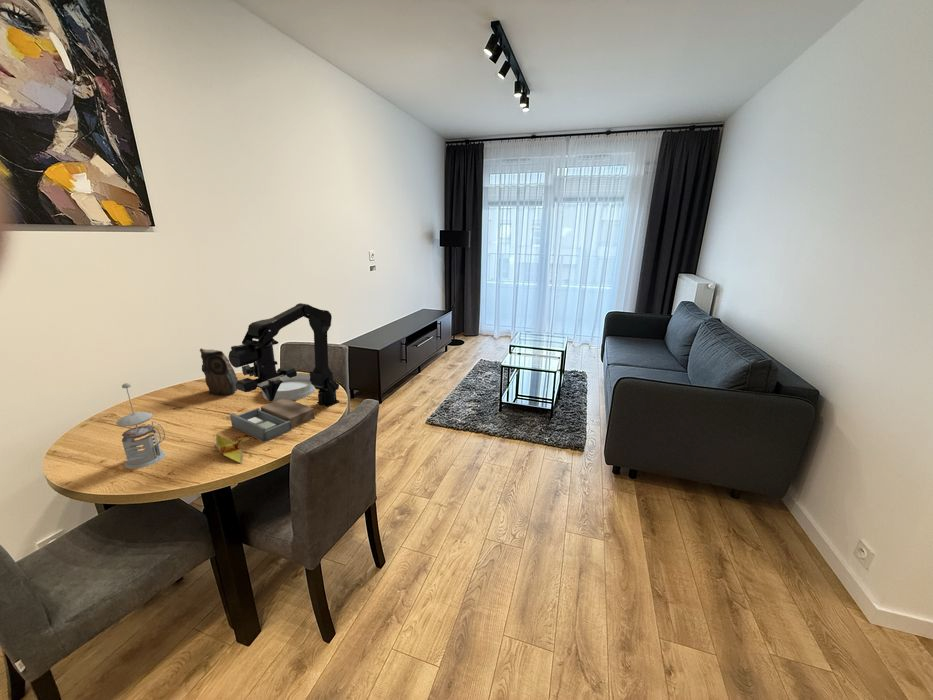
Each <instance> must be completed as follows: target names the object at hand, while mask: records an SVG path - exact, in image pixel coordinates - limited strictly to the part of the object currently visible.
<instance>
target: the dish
mask: <svg viewBox="0 0 933 700" xmlns="http://www.w3.org/2000/svg"><path fill="white" fill-rule="evenodd" d="M280 380H281V381H283V383H281V384H280V386H279V388H278V390H277V392H276V395H275V397H274V400H273V401H272V402H275V401H278V400H280V399H283V398H286V399H289V400H293V401H297V400H301V399H303V397H304V398H307V397H308V395H309V396H311V395H312V393H313V392H314V391H315V390H316V389H315V387H314V386H313V385H312V384H311V381H310V373H309V374H308V373H297V376H295V377H292V378H289V377H287V375H285V376H282V377H280ZM261 390H262V389H261ZM316 391H317V390H316ZM316 391H315V392H316ZM315 392H314V393H315ZM314 393H313V394H314ZM261 394H262V397H263V398H264V399H265V400H266V401H269V400H268V398H267V397H266V395H265V393H264V392H263V390H262V391H261ZM310 394H311V395H310ZM306 396H307V397H306ZM300 398H301V399H300Z"/></svg>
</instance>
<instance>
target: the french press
mask: <svg viewBox="0 0 933 700" xmlns="http://www.w3.org/2000/svg"><path fill="white" fill-rule="evenodd" d="M131 387H132V385H131V384H130V383H129V382H127V383H123V384H122V385H121V388H122V389H126V392H127V396H128V399H129V405H130V407H131V413H128V414H126V415H124V416H123V417H121V418H119V419H117V421H116V422H115V424H116V425H117V426H119V427H123V428H126V427H132V428H129V429H127V430H125V431H124V432H123V433H122V435H121V436H122V437H123V438H122V439H121V443H122V447H123V448H124V452H125V453H124V454H125V456H126V459H127V460H126V461H125V462H124V464H123V467H124V468H126V469H131V470H135V469H142V468H145V467H149V466H151V465H154V464H156V463H158V462H160V461H162V460H163V459H164V458H165V457H166V455H167V454H166V452H165V451H164V450H161V447H160V443H162V442H163V441H164V440H165V437H166V432H165V429H164V427H163V426H162V425H161V424H160V423H158V422H156V421H151V423H150V424H149V423H148V424H147V425H141V426H139V425H140V424H144V423H147V422H148V421H150V420H151V419H152V418H153V413H150V412H145V411H144V412H143V411H138V412H135V411H134V409H133V404H132V402H131V397H130V393H129V388H131ZM154 424H157V425H158V426H159V428H161V429H162V431H163V438H162V436H161V433H160V430H159V429H158V428H157V427H156V426H155V425H154ZM133 426H136V427H133ZM157 432H158V434H157ZM151 433H153V434H151ZM148 434H149V435H148ZM158 436H159V438H158ZM139 438H140V439H139Z"/></svg>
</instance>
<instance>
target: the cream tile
mask: <svg viewBox="0 0 933 700" xmlns="http://www.w3.org/2000/svg"><path fill="white" fill-rule="evenodd" d="M248 421H250V422H253V423H255V424H257V425H259V424H262V423H263V420H260V419H258V418H256V417H254V418H251V419H248Z"/></svg>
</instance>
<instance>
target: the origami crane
mask: <svg viewBox="0 0 933 700" xmlns="http://www.w3.org/2000/svg"><path fill="white" fill-rule="evenodd" d="M215 438H216V439H215V444H213V446H214V448H216V450H218V452H220V453H221V456H222V457H227V458H229V459H230V460H233V461H234V462H238V464H241V465H243V449H241V448H240V447H241V445H242V443H243V442H247V441H248V440H250V437H249V436H248V437H247V436H241V437H240V438H238V439H237V441H236V442H235V443H234V442H233V441H232V440H231V439H228V438H226V437H224V436H221V435H219V433H217V434H216V435H215Z"/></svg>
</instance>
